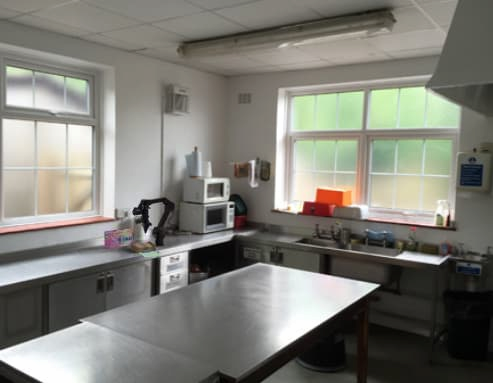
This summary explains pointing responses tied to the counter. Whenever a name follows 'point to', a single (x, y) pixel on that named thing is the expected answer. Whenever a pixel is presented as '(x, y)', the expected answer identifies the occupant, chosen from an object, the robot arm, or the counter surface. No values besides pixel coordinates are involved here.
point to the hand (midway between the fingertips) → (145, 233)
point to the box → (142, 247)
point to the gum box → (118, 238)
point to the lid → (149, 253)
